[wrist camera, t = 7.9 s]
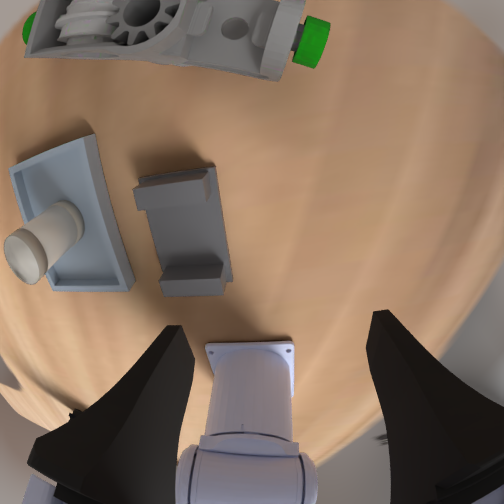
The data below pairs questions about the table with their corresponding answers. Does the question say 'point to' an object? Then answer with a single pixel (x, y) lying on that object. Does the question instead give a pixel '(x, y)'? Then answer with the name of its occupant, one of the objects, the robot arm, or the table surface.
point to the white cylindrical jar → (43, 241)
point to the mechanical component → (179, 33)
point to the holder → (187, 231)
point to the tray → (91, 207)
